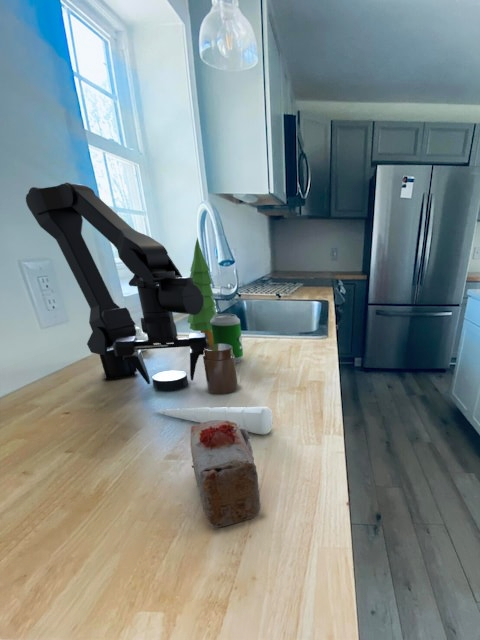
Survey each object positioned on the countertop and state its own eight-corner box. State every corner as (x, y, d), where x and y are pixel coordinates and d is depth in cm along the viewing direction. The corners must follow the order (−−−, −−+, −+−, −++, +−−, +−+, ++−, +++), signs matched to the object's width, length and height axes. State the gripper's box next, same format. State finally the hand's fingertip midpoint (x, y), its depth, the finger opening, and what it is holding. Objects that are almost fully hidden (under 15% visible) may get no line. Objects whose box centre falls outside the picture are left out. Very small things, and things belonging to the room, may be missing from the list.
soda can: (240, 365, 97) (235, 319, 92) (212, 364, 97) (206, 318, 92) (246, 357, 104) (242, 313, 98) (219, 356, 104) (214, 313, 98)
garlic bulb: (128, 348, 109) (123, 325, 106) (151, 346, 112) (146, 323, 108) (128, 354, 104) (122, 329, 101) (151, 352, 107) (146, 327, 103)
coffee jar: (211, 396, 78) (205, 352, 74) (204, 386, 83) (198, 345, 79) (241, 391, 81) (237, 349, 77) (233, 381, 86) (229, 341, 82)
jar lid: (188, 378, 88) (186, 369, 86) (188, 389, 82) (186, 379, 80) (155, 381, 85) (153, 371, 84) (153, 392, 79) (150, 382, 78)
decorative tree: (221, 347, 112) (208, 237, 98) (189, 349, 110) (171, 236, 96) (221, 340, 120) (209, 237, 106) (191, 341, 118) (175, 236, 104)
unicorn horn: (170, 406, 73) (165, 383, 71) (275, 428, 66) (274, 403, 64) (152, 415, 69) (147, 392, 67) (262, 440, 62) (261, 414, 60)
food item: (192, 472, 53) (180, 411, 49) (246, 460, 56) (240, 402, 51) (205, 533, 42) (192, 462, 38) (272, 515, 45) (267, 447, 41)
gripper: (202, 302, 85) (211, 367, 92) (113, 305, 80) (130, 373, 87) (204, 311, 76) (214, 382, 83) (103, 314, 70) (123, 390, 78)
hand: (170, 381), depth 83 cm, fingers open, 9 cm apart
